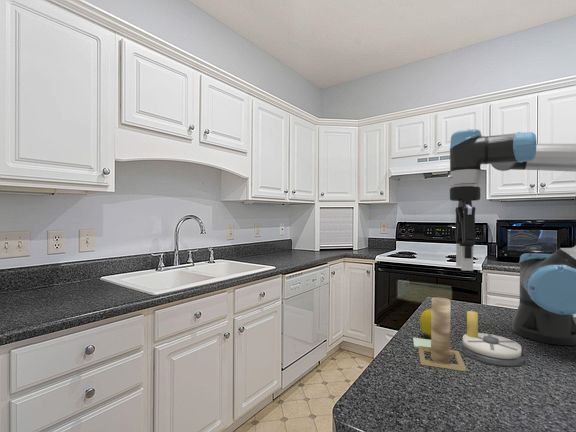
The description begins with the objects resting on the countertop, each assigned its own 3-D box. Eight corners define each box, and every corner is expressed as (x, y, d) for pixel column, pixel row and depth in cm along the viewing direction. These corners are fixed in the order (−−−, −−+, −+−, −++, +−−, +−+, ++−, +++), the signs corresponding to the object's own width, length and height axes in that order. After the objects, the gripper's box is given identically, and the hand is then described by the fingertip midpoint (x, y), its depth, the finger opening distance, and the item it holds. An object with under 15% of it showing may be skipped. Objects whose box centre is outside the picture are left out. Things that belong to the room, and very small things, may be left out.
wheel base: (513, 347, 81) (513, 342, 81) (533, 370, 69) (533, 365, 69) (456, 340, 85) (456, 336, 85) (466, 361, 73) (466, 356, 73)
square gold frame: (458, 354, 77) (458, 351, 77) (466, 371, 68) (466, 367, 68) (418, 348, 80) (418, 345, 80) (420, 364, 71) (420, 361, 71)
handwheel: (531, 351, 75) (531, 320, 75) (505, 363, 69) (505, 329, 69) (479, 335, 85) (479, 307, 85) (452, 344, 79) (452, 314, 79)
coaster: (437, 342, 84) (437, 340, 84) (440, 351, 78) (440, 349, 78) (413, 339, 86) (413, 337, 86) (414, 347, 80) (414, 346, 80)
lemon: (423, 332, 91) (423, 304, 91) (443, 336, 88) (444, 308, 88) (416, 337, 87) (417, 308, 87) (438, 342, 84) (438, 312, 84)
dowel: (448, 357, 75) (449, 298, 75) (451, 364, 71) (451, 302, 71) (430, 354, 76) (430, 296, 77) (431, 361, 73) (432, 300, 73)
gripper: (445, 189, 100) (444, 262, 99) (456, 183, 81) (455, 273, 80) (472, 189, 97) (471, 264, 97) (490, 182, 78) (489, 275, 78)
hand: (464, 268), depth 89 cm, fingers open, 7 cm apart
